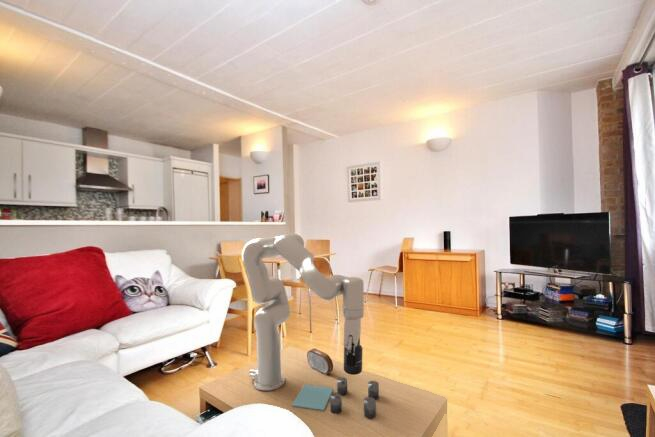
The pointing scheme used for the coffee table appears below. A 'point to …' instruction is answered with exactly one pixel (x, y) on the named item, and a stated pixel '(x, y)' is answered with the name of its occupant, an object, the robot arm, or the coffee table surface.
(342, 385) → the cylinder
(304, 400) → the teal board
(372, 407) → the cylinder
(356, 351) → the supplement bottle
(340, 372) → the coffee table surface
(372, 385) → the spacer back right
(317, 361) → the tin
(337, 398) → the cylinder
